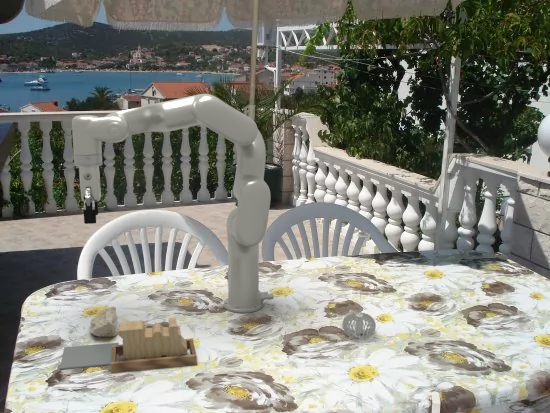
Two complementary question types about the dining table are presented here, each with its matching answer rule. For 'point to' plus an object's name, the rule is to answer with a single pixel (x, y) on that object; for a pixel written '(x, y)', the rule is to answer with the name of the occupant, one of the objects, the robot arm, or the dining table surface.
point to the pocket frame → (152, 360)
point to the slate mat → (87, 356)
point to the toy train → (151, 340)
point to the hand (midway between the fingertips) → (91, 219)
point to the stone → (105, 323)
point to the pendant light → (359, 315)
